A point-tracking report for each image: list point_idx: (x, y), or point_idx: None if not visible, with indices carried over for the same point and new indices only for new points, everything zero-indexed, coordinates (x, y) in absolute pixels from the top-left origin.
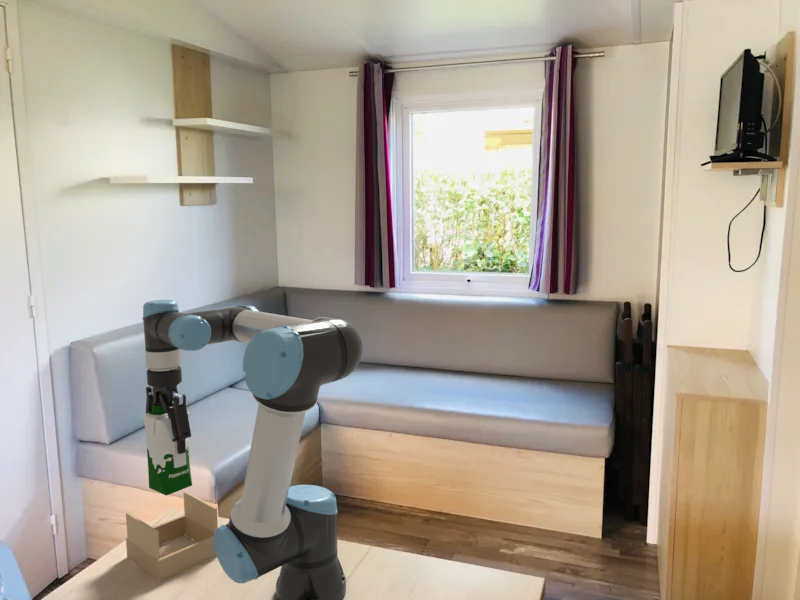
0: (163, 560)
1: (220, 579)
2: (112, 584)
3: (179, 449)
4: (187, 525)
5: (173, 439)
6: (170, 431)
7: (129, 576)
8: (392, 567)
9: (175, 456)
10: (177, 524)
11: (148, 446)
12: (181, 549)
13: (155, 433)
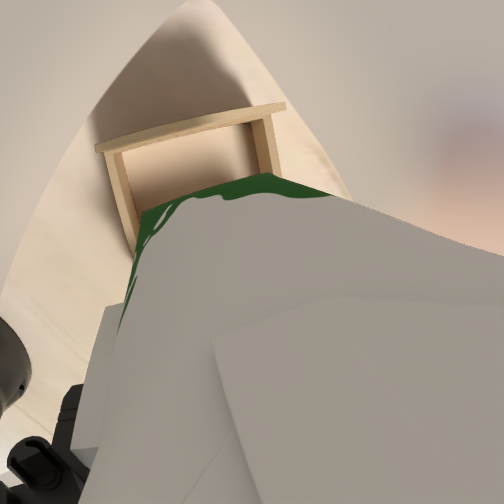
0: (105, 158)
1: (61, 253)
2: (164, 63)
3: (71, 410)
4: None
5: (17, 457)
6: None
7: (173, 97)
8: (22, 439)
9: (94, 353)
10: None
11: (308, 206)
12: (125, 207)
13: (179, 386)
